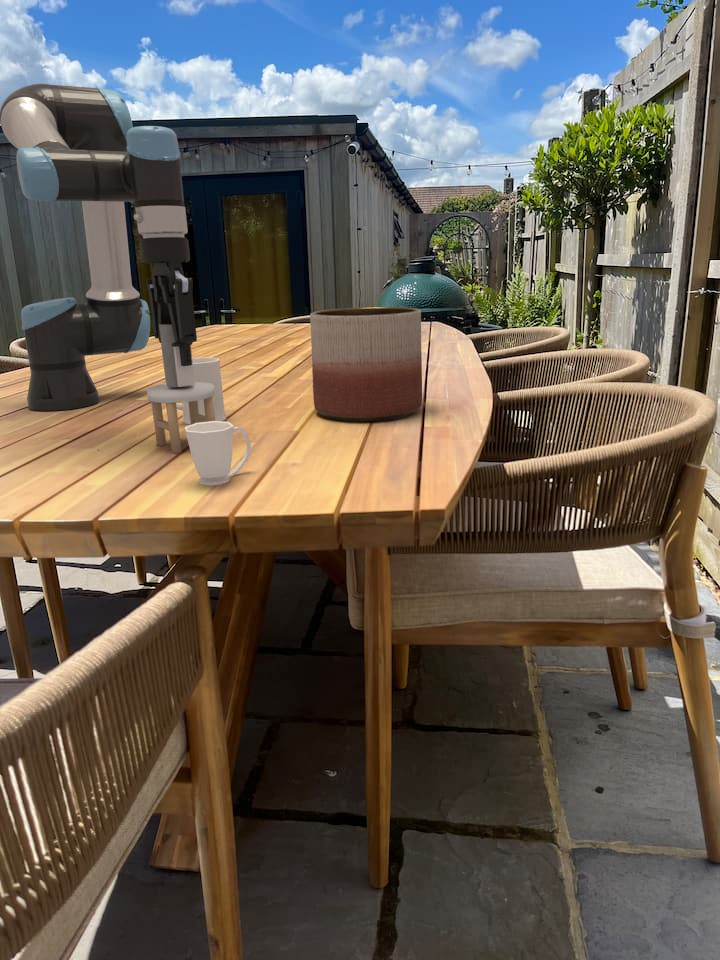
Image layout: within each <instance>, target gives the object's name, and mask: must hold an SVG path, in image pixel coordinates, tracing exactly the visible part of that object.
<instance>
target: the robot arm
mask: <svg viewBox="0 0 720 960" xmlns="http://www.w3.org/2000/svg"><path fill="white" fill-rule="evenodd" d="M0 127H1V130H2V132H3V134H4V137H6V139H7V140H8V141H9V143H10V144H12V145H13V146H14V148H16V149H17V152H16V166H17V167H16V168H17V169H16V170H17V175H18V179H19V185H20V188H21V193H22V194H23V196H24V197H25V198H26V199H28V200H30V201H31V200H32V201H44V202H46V203H51V202H52V203H53V202H81V207H82V214H83V215H82V217H83V223H84V232H85V239H86V241H85V242H86V248H87V256H88V264H89V273H90V274H89V275H90V281H91V287H90V289H89V290H87V292H86V293H85V299H86V302H84V303H83V302H82V303H78V302H77V300H76V298H75V297H72V296H71V297H64V298H63V297H62V298H55V299H49V300H45V301H44V300H43V301H40V302H34V303H30V304H27V305H25V306H24V307H22V308H21V312H20V316H21V317H20V318H21V325H22V326H21V329H22V331H23V334H24V340H25V346H26V352H27V358H28V363H29V368H30V378H29V384H28V390H27V396H26V401H27V407H28V409H29V410H31V411H32V410H33V411H37V412H38V411H39V412H41V411H44V412H45V411H46V412H50V411H64V410H73V409H79V408H85V407H88V406H93V405H95V404H98V403H99V402H100V396H99V391H98V389H97V387H96V384H95V383H94V381H93V379H92V377H91V375H90V372H88V369H87V364H86V359H85V358H86V357H87V356H99V355H111V354H121V353H123V354H128V353H131V352H138V351H142V350H143V349H145V348H146V347H147V345H148V342H149V339H150V333H151V321H152V328H153V336H154V338H155V339H158V342H159V343H160V347H161V349H162V345H161V337H160V329H159V324H160V323H165V322H171V323H172V328H173V333H174V338H175V342H174V343H172V344H171V345H172V347H173V348H174V357H175V365H176V374H177V383H178V386H179V387H182V386H189V385H195V379H194V370H193V360H192V358H193V353H192V345H193V344H194V343H195V342H196V343H197V341H198V337H197V328H196V327H197V326H196V318H195V316H196V315H195V306H194V297H193V291H194V290H193V287H194V282H193V278H192V277H185V275H184V270H183V268H182V263H188V262H189V261H190V260H191V255H190V254H191V253H190V245H189V244H190V243H189V239H187V237H185V235H186V234H188V221H187V215H186V214H187V212H186V206H185V198H184V187H183V177H182V169H181V168H182V166H181V165H182V164H181V155H182V154H181V152H180V148H179V143H178V142H179V141H178V135H177V134H176V132H175V131H174V130H173V129H172V128H169V127H165V126H160V125H159V126H157V125H143V126H142V125H140V126H133V121H132V116H131V113H130V110H129V107H128V105H127V103H126V101H125V99H124V98H123V96H122V95H121V93H120V92H118V91H115V90H112V89H106V88H99V87H88V86H73V85H59V84H58V85H57V84H49V83H34V84H29V85H26V86H22V87H21V88H18V89H16V90H15V91H14V92H12V93H11V94H9V95H8V96H7V97H6V98H5V100H4V101H3V102H2V105H1V107H0ZM127 202H129V203H132V204H134V208H135V209H134V210H135V213H134V214H133V219H134V221H136V224H137V232H138V234H139V235H141V236H142V238H140V240H139V250H140V259H141V262H142V263H144V264H152V272H151V273H152V274H151V275H152V277H151V278H146V279H145V284H146V287H147V290H148V296H149V305H150V308H149V305H148V303H147V301H146V300H144V299H141V296H140V295H141V294H140V292H139V291H138V290H136V288H135V287H134V286H133V283H132V274H131V264H130V262H131V261H130V260H131V259H130V251H129V241H128V239H129V238H128V229H127V221H126V220H127V218H126V209H125V207H126V206H125V203H127ZM150 312H151V315H150ZM151 318H152V320H151ZM161 356H162V357H163V354H162V355H161ZM162 362H163V361H162ZM163 366H164V362H163ZM163 371H164V374H165V370H164V369H163ZM164 379H165V380H164V382H165V381H166V378H165V377H164Z"/></svg>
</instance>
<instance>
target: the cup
mask: <svg viewBox="0 0 720 960" xmlns="http://www.w3.org/2000/svg"><path fill="white" fill-rule="evenodd" d="M183 429H184V431H185V436H186V439H187V443H188V447H189V451H190V454H191V458H192V461H193V464H194V467H195V469H196V472H197V474H198V476H199V477H200V478H199V479H198V481H199V483H200V485H201V486H209V487H211V486H212V487H213V486H219V485H225V484H226V483H227V482H229V481H231V480H230V479H231V478H232V477H234V476H236V474H237V473H238V472H240V470H241V469H242V468H243V467H244V465H245V464H246V463H247V462H248V460H249V457H250V456H251V452H252V444H251V443H252V442H251V439H250V436H249V434H248V433H247V431H246V430H245V429H244V428H241V427H238V426H234V425H233V423H231V421H209V422H200V423H195V424H192V425H186V426H185V427H184V428H183ZM238 431H240V433H241V434H242V435H243V437H244V441H245V445H246V448H245V449H246V450H245V454H244V456H243V458H242V460H240V462H239V463H238V464H237V465H236V466H235V468H234V469H233V470H231V466H232V462H233V447H234V445H233V444H234V433H236V432H238Z"/></svg>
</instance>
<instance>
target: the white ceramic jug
mask: <svg viewBox="0 0 720 960" xmlns="http://www.w3.org/2000/svg"><path fill="white" fill-rule="evenodd" d="M192 360H193V370H194V379H195V382H206V383H211V384H213V385H214V392H215V395H214V396H213V402H214V412H215V421H222V422H225V421H226V420H227V415H226V411H225V404H224V394H223V384H222V383H223V382H222V375H221V374H222V372H221V361H220V358H217V357H210V356H209V357H192ZM163 384H166V381H165V380H164V383H163ZM197 401H198V410H199V414H201V415H204V416H205V409H204V399H203V400H197ZM176 408H177V411H182V423H183V424H185V425H187V426H189V425H191V422H190V413H189V404H188V402H181V404H177V403H176Z"/></svg>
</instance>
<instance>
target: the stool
mask: <svg viewBox="0 0 720 960" xmlns="http://www.w3.org/2000/svg"><path fill="white" fill-rule="evenodd" d="M146 392H147V393H146V394H147V400H148V401H149V402H151V410H152V416H153V417H152V418H153V425H154V432H155V442H156V446H157V447H161V446H162V447H163V445H164V446H166V445H167V439H166V431H168V432H169V440H170V450H171V454H180V453H182V444H181V436H180V425H179V418H178V409H177V408H176V404H177V403H178V404H180V403H182V402H188V404H189V413H190V422H191V425H192V424H195V423H200V422H209V421H215V412H214V402H213V396H214V395H215V392H214V385H213V384H211V383H206V382H195V385H191V386H186V387H168V386H167V385H166V384H164V383H163V384H158V385H155V386H152V387H151V386H150V387H149V388H147V389H146ZM203 399H204V409H205V416H204V415H201V414H199V410H198V401H197V400H203ZM162 404H165V408H166V415H167V416H166V417H167V420H164V416H163V405H162Z"/></svg>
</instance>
